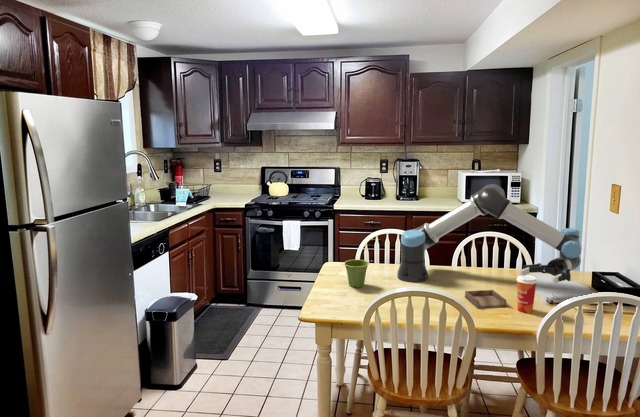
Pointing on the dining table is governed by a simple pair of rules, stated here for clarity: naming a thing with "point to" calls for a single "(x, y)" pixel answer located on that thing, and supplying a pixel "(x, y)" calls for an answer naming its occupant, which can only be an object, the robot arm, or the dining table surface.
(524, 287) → the paper cup
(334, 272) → the dining table surface
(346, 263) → the plant pot
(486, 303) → the walnut bay
